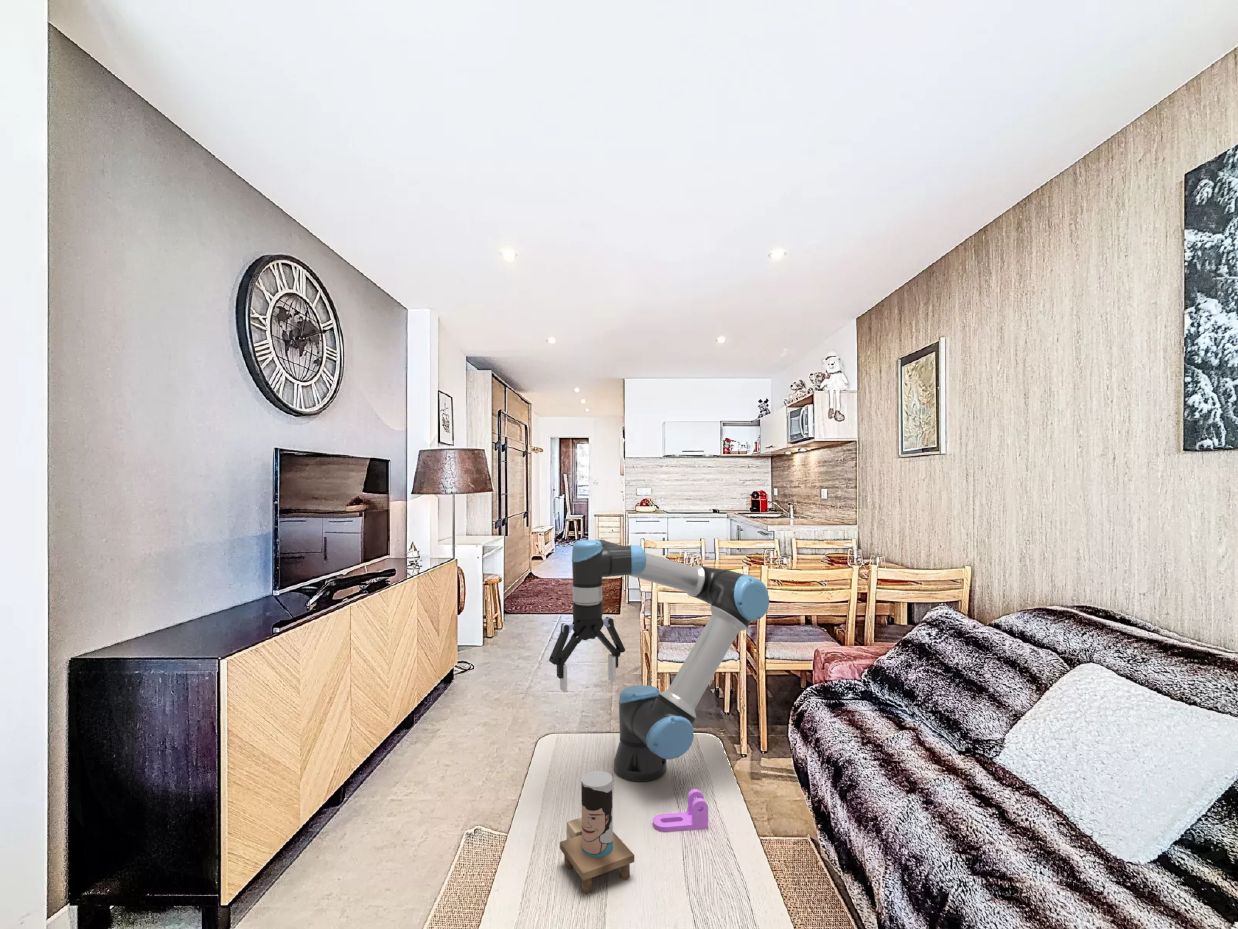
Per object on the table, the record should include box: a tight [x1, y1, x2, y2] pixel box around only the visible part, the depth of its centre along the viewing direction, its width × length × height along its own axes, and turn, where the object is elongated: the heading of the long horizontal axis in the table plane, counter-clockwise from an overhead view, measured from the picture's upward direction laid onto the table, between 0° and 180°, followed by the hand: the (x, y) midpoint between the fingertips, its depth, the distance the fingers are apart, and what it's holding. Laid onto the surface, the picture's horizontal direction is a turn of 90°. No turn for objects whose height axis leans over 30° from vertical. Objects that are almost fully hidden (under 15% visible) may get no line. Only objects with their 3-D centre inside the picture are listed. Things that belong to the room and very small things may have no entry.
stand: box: [559, 831, 635, 895], centre depth 135 cm, size 12×12×5 cm
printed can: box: [580, 770, 614, 858], centre depth 135 cm, size 7×7×15 cm
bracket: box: [652, 788, 709, 833], centre depth 152 cm, size 13×6×7 cm, turn 97°
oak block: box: [566, 816, 582, 840], centre depth 144 cm, size 5×5×5 cm
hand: (588, 685), depth 159 cm, fingers open, 13 cm apart
